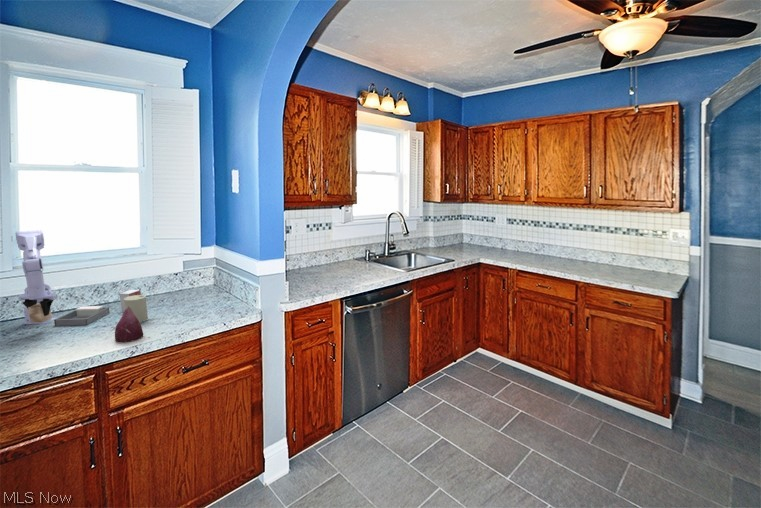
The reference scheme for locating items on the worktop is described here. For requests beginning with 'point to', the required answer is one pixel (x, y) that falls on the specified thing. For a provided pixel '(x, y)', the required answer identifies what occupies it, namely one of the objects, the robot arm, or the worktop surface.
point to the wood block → (38, 314)
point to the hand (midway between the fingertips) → (40, 315)
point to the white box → (88, 310)
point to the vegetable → (128, 327)
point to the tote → (79, 318)
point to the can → (137, 306)
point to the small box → (127, 294)
